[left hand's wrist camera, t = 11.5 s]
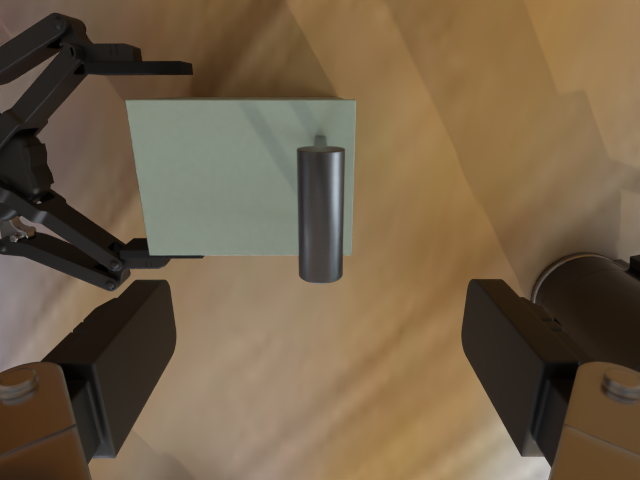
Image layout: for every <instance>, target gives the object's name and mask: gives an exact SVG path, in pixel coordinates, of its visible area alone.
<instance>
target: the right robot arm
mask: <svg viewBox="0 0 640 480" xmlns="http://www.w3.org/2000/svg"><path fill="white" fill-rule="evenodd" d="M58 52H60V53H59V54H58V55H57V56H56V57H55V58H54V59H53V61H52V62H51V63H50V64H49V65H48V66H47V68H46V69H45V70H44V71H43V72H42V73H41V75H40V76H39V77H38V78H37V79H36V80H35V82H34V83H33V84H32V85H31V86H30V87H29V88H28V90H27V91H26V92H25V93H24V94H23V95H22V97H21V98H20V99H19V100H18V101H17V102H16V104H15V105H14V106H13V107H12V108H11V109H9V110H7V111H5V112H3V113H2V114H1V113H0V231H1V237H2V239H0V254H3V255H13V256H23V257H26V258H29V259H31V260H34V261H36V262H39V263H41V264H44V265H46V266H49V267H51V268H53V269H56V270H58V271H61V272H63V273H66V274H68V275H71V276H73V277H76V278H78V279H81V280H83V281H86V282H88V283H91V284H93V285H95V286H98V287H100V288H103V289H105V290H108V291H115V290H116V289H117V288H118V287H119V286H120V285H121V284H122V283H123V282H124V281H125V280H127V279H128V278H129V276H130V269H159V268H162V267H164V266H165V265H166V264H167V263H168V262H169V261H170V259H173V258H203V257H204V255H149V248H148V242H147V238H134V239H132V240H131V241H130V242H129V243H127V244H124V243H123V242H121V241H120V240H118V239H117V238H116V237H114V236H113V235H111V234H110V233H108V232H107V231H105V230H104V229H103V228H101V227H100V226H98V225H97V224H95V223H94V222H92V221H91V220H89V219H88V218H87V217H85V216H84V215H82V214H81V213H79V212H78V211H76V210H75V209H73V208H72V207H71V206H69V205H68V204H67V203H66V200H65V199H64V198H63V197H62V196H60V195H59V194H57V193H56V192H55V191H53V190H52V189H50V187H51V184H52V183H54V181H53V176H52V173H51V171H50V169H49V167H48V165H47V151H46V147H45V144H41V142H40V140H39V139H38V138H37V137H36V136H37V134H38V133H39V132H40V131H41V130H42V129H43V128H44V127H45V126H46V124H47V123H48V118H49V117H50V116H51V115H52V114H53V113H54V112H55V110H56V109H57V108H58V107H59V106H60V105H61V104H62V103H63V101H64V100H65V99H66V98H67V97H68V96H69V95H70V94H71V93H72V91H73V90H74V89H75V88H76V87H77V86H78V85H79V84H80V83H81V81H82V80H83V79H84V78H85V77H86V76H87V75H88V74H95V75H193V70H192V64H191V63H186V62H181V61H142V57H141V50H140V48H137V47H135V46H132V45H128V44H93V43H92V42H91V41H90V40H89V38H88V36H87V34H86V26H85V24H84V23H83V22H82V21H81V20H79V19H76V18H72V17H69V16H66V15H62V14H59V13H52V14H50V15H49V16H47V17H46V18H44V19H42V20H41V21H39V22H38V23H36V24H35V25H33V26H32V27H30V28H29V29H27V30H25V31H24V32H22V33H21V34H19V35H18V36H16V37H15V38H13V39H12V40H10V41H8V42H7V43H5V44H4V45H2V46H1V47H0V85H4V84H6V83H9V82H11V81H13V80H15V79H16V78H18V77H20V76H21V75H23V74H24V73H26V72H28V71H29V70H31V69H32V68H34V67H36V66H37V65H39V64H40V63H42V62H44V61H45V60H47V59H48V58H50V57H52V56H53V55H55V54H56V53H58ZM38 201H41V202H42V203H40V204H37V202H38ZM19 216H23V217H25V218H26V219H28V220H29V221H31V222H34V223H41V224H43V225H44V226H46V227H47V228H49V229H50V230H52V231H53V232H55V233H56V234H58V235H59V236H61V237H62V238H64V239H65V240H67V241H68V242H70V243H71V244H70V243H67V242H65V241H63V240H60V239H58V238H55V237H53V236H50V235H48V234H44V233H39V232H36V228H35V227H33V226H31V227H29V226H27V225H24V224H23V223H22V222H21V221H20V219H19ZM72 244H73V245H72Z"/></svg>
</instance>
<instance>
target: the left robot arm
mask: <svg viewBox="0 0 640 480" xmlns="http://www.w3.org/2000/svg"><path fill="white" fill-rule="evenodd" d="M461 337H462V346H463V350H464V353H465V355H466V357H467V359H468V360H469V362H470V364H471V366H472V368H473V369H474V371H475V373H476V375H477V377H478V379H479V380H480V382H481V384H482V386H483V388H484V389H485V391H486V393H487V395H488V397H489V398H490V400H491V402H492V404H493V406H494V407H495V409H496V411H497V413H498V415H499V417H500V418H501V420H502V422H503V424H504V426H505V427H506V429H507V431H508V433H509V435H510V436H511V438H512V440H513V442H514V444H515V445H516V447H517V449H518V451H519V453H520V455H521V456H522V457H545V458H546V460H547V461H548V463H549V465H550V466H551V472H550V475H549V479H548V480H640V255H636V256H631V257H630V264H628V263H627V262H625V261H623V260H621V259H619V260H610V259H609V258H607V257H605V256H603V255H600V254H595V253H578V254H573V255H570V256H567V257H564V258H562V259H560V260H558V261H556V262H555V263H553V264H552V265H551V266H549V267H548V268H547V269H546V270H545V271H544V272H543V273H542V274H541V276H540V277H539V278H538V280H537V282H536V283H535V285H534V288H533V291H532V295H531V301H529V300H527V299H525V298H524V297H519V296H518V295H517V294H516V293H515V292H514V291H513V290H512V289H511V288H510V287H509V286H508V285H507V284H506V283H505V282H504V281H503V280H502V279H472V280H471V281H470V282H469V285H468V289H467V296H466V303H465V310H464V317H463V324H462V333H461ZM175 345H176V326H175V319H174V312H173V305H172V298H171V291H170V286H169V284H168V282H167V281H166V280H135V281H134V282H133V283H132V284H131V285H130V286H129V287H128V288H127V289H126V290H125V291H124V292H123V293H122V294H121V295H120V296H119V297H118V298H113V299H111V300H110V301H108V302H106V303H104V304H102V305H100V306H99V307H97V308H95V309H94V310H93V311H92V312H91V313H90V314H89V315H88V316H87V317H86V318H85V319H84V321H83V322H81V323H80V324H79V325H78V326H77V327H76V328H75V329H74V330H73V332H70V333H69V334H68V335H67V336H66V337H65V338H64V339H63V340H62V341H61V342H60V343H59V344H58V345H57V346H56V347H55V348H54V349H53V350H52V351H51V352H50V353H49V354H48V355H47V356H46V357H45V358H43V359H42V360H41V361H40V362H32V363H27V364H23V365H19V366H16V367H13V368H10V369H8V370H5V371H3V372H1V373H0V480H92V479H91V475H90V472H89V468H88V464H89V462H90V460H91V459H92V458H115V457H116V455H117V454H118V452H119V450H120V448H121V447H122V445H123V443H124V441H125V439H126V438H127V436H128V434H129V432H130V430H131V429H132V427H133V425H134V423H135V422H136V420H137V418H138V416H139V414H140V413H141V411H142V409H143V407H144V405H145V404H146V402H147V400H148V398H149V396H150V395H151V393H152V391H153V389H154V388H155V386H156V384H157V382H158V380H159V379H160V377H161V375H162V373H163V371H164V370H165V368H166V366H167V364H168V363H169V361H170V359H171V357H172V355H173V353H174V350H175Z"/></svg>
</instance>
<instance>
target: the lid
mask: <svg viewBox="0 0 640 480" xmlns="http://www.w3.org/2000/svg"><path fill="white" fill-rule="evenodd" d="M125 101H126V108H127V114H128V120H129V127H130V133H131V140H132V146H133V152H134V159H135V165H136V172H137V178H138V184H139V191H140V197H141V204H142V210H143V216H144V223H145V229H146V236H147V242H148V248H149V255H299V276H300V278H301V279H303V280H305V281H307V282H310V283H317V284H325V283H331V282H335V281H337V280H339V279H340V278H341V277H342V274H343V255H351V254H352V222H353V188H354V154H355V119H356V100H354V99H132V100H125Z"/></svg>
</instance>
